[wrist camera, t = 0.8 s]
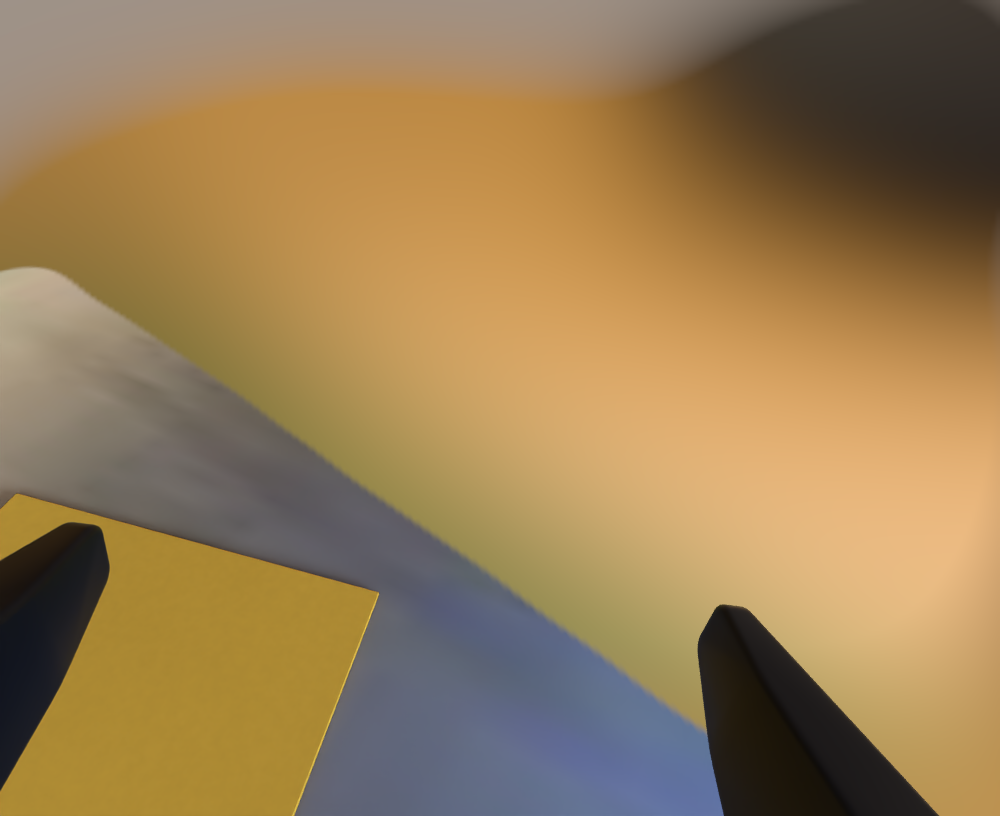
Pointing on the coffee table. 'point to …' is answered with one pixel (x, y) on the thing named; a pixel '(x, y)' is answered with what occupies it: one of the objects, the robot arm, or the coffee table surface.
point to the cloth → (186, 680)
